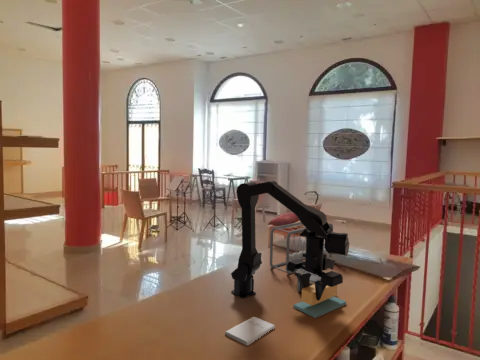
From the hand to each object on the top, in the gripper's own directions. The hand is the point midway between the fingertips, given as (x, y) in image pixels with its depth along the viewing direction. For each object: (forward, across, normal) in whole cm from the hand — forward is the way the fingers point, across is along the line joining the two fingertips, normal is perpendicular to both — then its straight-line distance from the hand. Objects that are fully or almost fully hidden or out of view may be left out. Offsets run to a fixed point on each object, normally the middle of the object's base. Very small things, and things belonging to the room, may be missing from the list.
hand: (312, 297), depth 121 cm
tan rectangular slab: (+1, 0, -4) cm, 4 cm away
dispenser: (+4, +9, -12) cm, 15 cm away
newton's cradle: (+4, +32, -30) cm, 44 cm away
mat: (+4, 0, -4) cm, 6 cm away
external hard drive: (+5, +2, +25) cm, 26 cm away
